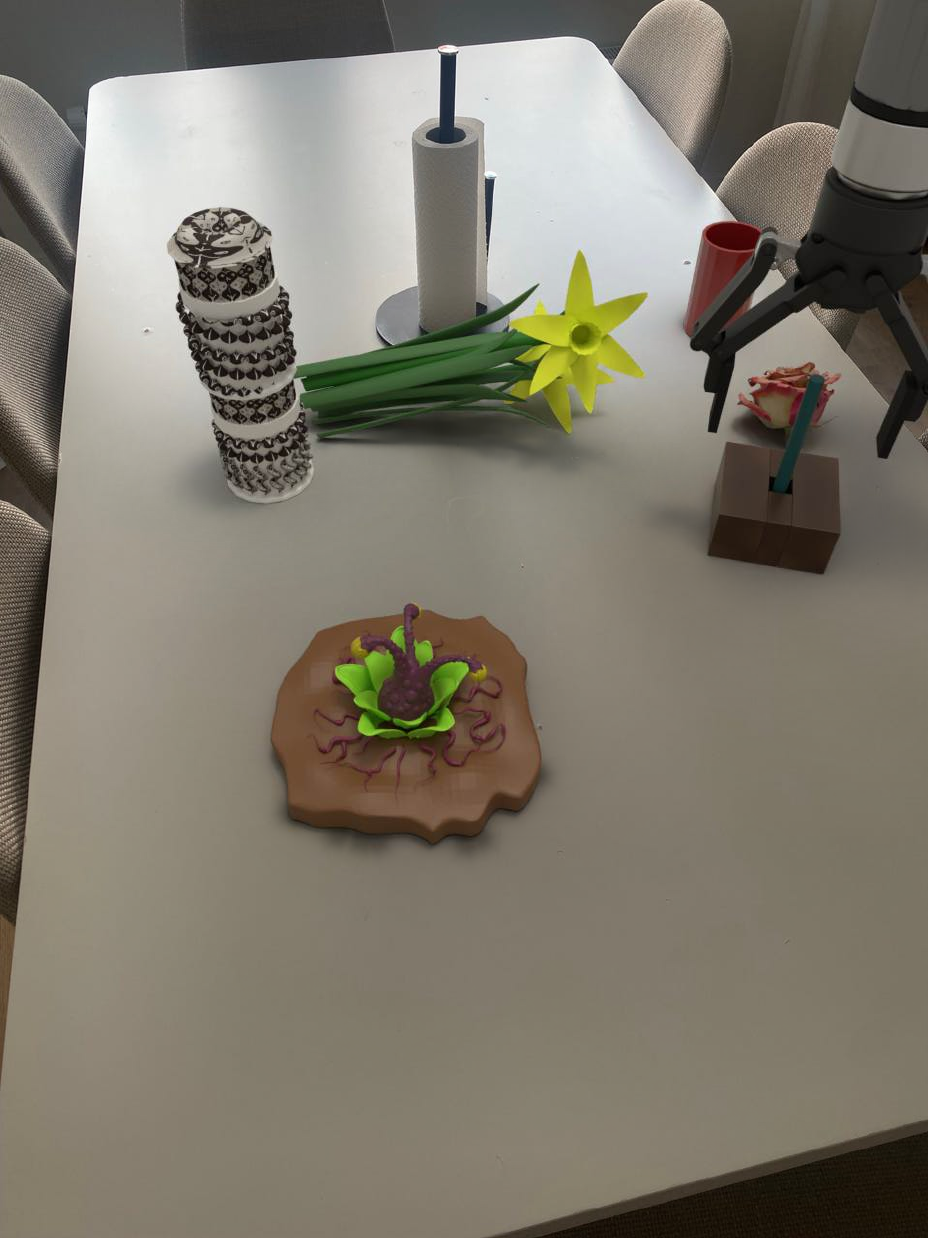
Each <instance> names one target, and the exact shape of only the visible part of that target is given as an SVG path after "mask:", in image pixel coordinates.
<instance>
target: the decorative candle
mask: <svg viewBox="0 0 928 1238" xmlns="http://www.w3.org/2000/svg"><path fill="white" fill-rule="evenodd" d="M273 241H274V239H273V234H272V231H271V229H270V228H269V227H267V226H266V225H264V223H262V222H260V221H257V220H256V219H255V217H252V215H250V214H249V213H248V212H246V211H244V210H240V209H238V208H234V207H224V206H222V207H221V206H219V207H210V208H205V209H202V210H198V211H195V212H193V213H192V214H190V215H188V216H187V217H185V218H184V219H183V220H182V221H181V223H180V224H179V226H178V227H177V229H176V232H174V233H173V234H172V236H171V237H170V238H169V240H168V241H167V243H166V249H167V254H168V255H169V256H170V257H171V258H172V259H173V260H174V264H175V265H174V266H175V269H176V272H177V276H178V288H179V292H178V293H177V297H176V298H177V300H178V301H177V302H176V304H175V311H176V312H177V313H178V320H179V321H180V322H181V323H182V325H184V326H183V329H182V331H183V334H184V336H185V337H187V347H188V349H189V350H190V351H191V353H190V357H191V359H192V360H193V361H195V363H194V368H195V371H196V372H197V373H198V379H199V381H200V384H201V386H202V387H203V388H204V389H205V390H206V391H207V392H208V394H209V398H210V408H211V414H212V418H213V419H212V421H211V427H212V428H213V434H214V436H215V441H216V442H217V448H218V455H219V458H220V462H221V464H222V469H223V473H224V476H225V478H226V480H227V486H228V488H229V489H230V490H231V491H232V493H233V495H235V496H236V497H238V498H240V499H242V500H244V501H247V502H249V503H255V504H256V503H257V504H266V505H268V504H274V503H280V502H284V501H287V500H289V499H291V498H293V497H296V496H298V495H300V494H301V493H302V492H303V491H304V490H305V489H307V488H308V487H309V485H311V483H312V480H313V478H314V475H315V468H314V464H313V459H314V455H313V454H312V453H310V450H311V446H312V442H311V441H310V440H307V438H308V437H309V433H308V431H309V427H308V425H307V424H306V417H307V414H306V412H305V411H304V406H303V403H300V396H299V395H298V394H299V393H298V389H297V387H296V385H295V379H293V377H294V375H295V373H296V371H297V367H296V366H297V364H296V356H297V350H296V349H295V346H294V338H295V334H294V331H293V330H292V329H291V328H290V325H291V323H292V318H293V313H292V311H291V310H290V307H289V306H290V294H289V292H288V291H287V290H285V288H284V287H283V286H282V285H281V284H280V282H279V276H278V272H277V268H276V266H275V265H274V261H273V260H274V259H273V253H272V248H271V245H272V243H273ZM186 310H188V312H187V311H186Z"/></svg>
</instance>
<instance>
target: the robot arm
mask: <svg viewBox="0 0 928 1238" xmlns="http://www.w3.org/2000/svg"><path fill="white" fill-rule="evenodd" d="M875 3H876V4H875V5H874V10H873V14H872V17H871V21H870V24H869V28H868V32H867V35H866V39H865V42H864V47H863V48H862V49H863V50H862V54H861V57H860V61H859V64H858V68H857V71H856V74H855V78H854V81H853V82H852V83H853V84H852V87H851V90H850V94H849V97H848V100H847V103H846V107H845V110H844V113H843V116H842V120H841V123H840V126H839V129H838V133H837V136H836V139H835V143H834V145H833V149H832V152H831V154H830V155H831V156H830V161H831V165H832V166H831V167H829V168H828V169H827V170H826V171H825V174H824V178H823V180H822V181H823V182H822V185H821V187H820V191H819V194H818V198H817V202H816V205H815V208H814V211H813V215H812V219H811V222H810V224H809V227H808V229H807V231H806V232H805V234H804V235H803V236H802V237H801V238H800V239H796V238H791V237H787V236H782V235H779V231H778V229H777V228H776V227H773V226H766V227H764V228H763V229H761V230H762V232H761V234H760V236H759V239H758V242H757V244H756V247H755V249H754V252H753V255H752V256H751V257H750V258H749V259H748V261H747V262H746V263H745V264H744V265H743V266H742V268H741V269H740V270H739V271H738V272H737V274H736V275H735V276H734V277H733V278H732V280H731V281H730V282H729V283H728V284H727V285H726V287H725V288H724V289H723V290H722V291H721V293H720V294H719V295H718V296H717V297H716V299H715V300H714V301H713V302H712V303H711V304H710V306H709V307H708V308H707V309H706V310H705V312H704V313H703V314H702V315H701V316H700V318H699V319H698V320H697V321H696V322H695V323H694V325H693V327H692V333H691V337H690V339H689V347H690V350H692V351H694V352H703V353H705V354H706V355H707V356H708V361H707V366H706V370H705V374H704V379H703V390H704V393H709V394H713V399H712V403H711V405H710V409H709V410H710V411H709V417H708V426H707V433H712V434H718V429H719V426H720V423H721V419H722V415H723V411H724V406H725V405H726V399H727V395H728V392H729V388H730V384H731V381H732V377H733V373H734V370H735V365H736V356H737V355H736V354H737V352H739V351H740V350H741V349H743V348H745V347H746V346H747V345H749V344H750V343H751V342H753V341H755V340H756V339H758V338H759V337H761V336H762V335H763V334H765V333H766V332H768V331H769V330H770V329H772V328H773V327H775V326H776V325H778V324H779V323H781V322H782V321H783V320H785V319H786V318H787V317H790V316H791V315H793V314H799V313H800V312H802V311H803V310H804V309H807V308H808V307H809V306H811V305H812V304H814V303H815V304H817V305H818V306H819V309H821V310H828V311H834V310H846V311H848V312H851V313H854V314H861V315H865V314H866V312H867V311H872V310H874V309H877V310H878V312H879V314H880V316H881V319H882V320H883V322H884V323H885V325H887V327H888V328H889V330H890V332H891V334H892V336H893V338H894V340H895V342H896V343H897V346H898V347H899V350H900V351H901V353H902V355H903V357H904V359H905V360H906V363H907V364H908V367H909V368H910V370H909V369H905V370H904V372H903V374H902V376H901V379H900V381H899V383H898V386H897V387H896V390H895V391H894V395H893V397H892V399H891V401H890V404H889V407H888V409H887V411H886V414H885V415H884V418H883V420H882V422H881V424H880V427H879V430H878V432H877V434H876V437H875V442H876V455H877V459H883V460H884V459H885V460H888V458H889V456H890V454H891V452H892V449H893V447H894V445H895V443H896V441H897V439H898V436H899V434H900V432H901V430H902V428H903V426H904V423H905V422H912V423H915V422H917V421H918V420H919V419H920V418H921V416H922V414H923V411H924V410H925V407H926V405H927V403H928V347H927V345H926V343H925V340H924V338H923V336H922V334H921V333H920V332H921V331H920V330H919V328H918V326H917V324H916V322H915V320H914V318H913V317H912V315H911V313H910V310H909V308H908V307H907V305H906V302H905V300H904V298H903V296H902V292H901V291H902V290H903V289H904V288H906V287H907V286H909V285H910V284H911V283H912V282H914V281H915V280H916V279H917V278H918V277H919V276H920V275H922V276H924V277H925V278H926V282H927V284H928V254H923V248H924V245H925V243H926V240H927V237H928V0H876V2H875ZM790 260H794V264H795V266H796V268H797V271H796V272H795V273H793V274H792V275H790V276H789V277H788V278H787V280H785V283H784V284H783V285H781V286H780V287H779V288H777V289H776V290H774V291H773V292H771V293H770V294H769V295H767V296H766V297H765V298H763V299H762V300H761V301H759V302H758V303H756V304H755V305H754V306H751V308H750V309H749V310H748V311H747V312H745V313H744V314H743V315H741V316H740V317H738V318H737V319H736V320H734V321H733V322H731V323H730V324H729V325H727V326H726V327H725V328H723V327H724V325H725V324H726V323H727V322H728V321H729V320H730V319H731V317H732V316H733V315H734V314H735V313H736V312H737V311H738V309H739V308H740V307H741V306H742V305H743V304H744V303H745V302H746V300H747V299H748V298H749V297H750V296H751V295H752V294H753V292H754V291H755V292H756V290H757V289H759V287H760V286H761V284H762V283H763V282H764V280H765V279H766V277H767V276H768V274H769V272H770V271H776V270H777V269H780V268H781V267H782V265H783V264H784V263H785V262H786V261H790ZM755 292H754V293H755ZM722 328H723V329H722ZM721 329H722V330H721Z"/></svg>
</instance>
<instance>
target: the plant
mask: <svg viewBox="0 0 928 1238" xmlns="http://www.w3.org/2000/svg"><path fill="white" fill-rule="evenodd" d="M527 674H528V663H527V659H526V658H525V656H523V655H522V654H521V653H520V652H519V651H518V648H517V647H516V646H515V644H514V642H513V641H512V639H511V637H509V636H508V635H507V634H505V633H504V632H503V631H501V630H499V629H498V628H496V627H495V626H494V625H493V624H491V622H490V621H488V620H487V618H486V617H485V616H484V615H477V616H473V617H470V618H460V619H459V618H453V617H449V616H444V615H442V614H439V613H437V612H435V611H433V610H430V609H422V608H421V606H420V605H419V604H418V603H415V602H408V603H407V604H405V605H404V608H403V613H397V614H391V615H384V616H375V617H369V618H361V619H355V620H350V621H347V622H343V623H340V624H336V625H333V626H331V627H326V628H323V629H320V630H318V631H317V632H316V633H315V635H314V637H313V638H312V640H311V641H310V642H309V644H308V645H307V648H306V649H305V650H304V652H303V653H302V655H300V657H299V659H298V660H296V662H295V663H294V664H293V665H292V666H291V667H290V668H289V670H288V671H287V672H286V675H285V676H284V678H283V681H282V682H281V684H280V687H279V689H278V692H277V695H276V700H275V701H276V702H275V708H274V714H273V719H272V724H271V729H270V745H271V747H272V750H273V753H274V755H275V757H276V759H277V760H278V762H279V763H280V764H281V766H282V767H283V769H284V772H285V779H286V786H287V807H288V810H289V814H290V818H291V819H292V820H295V821H299V822H302V823H305V824H308V825H310V826H312V827H315V828H319V829H320V828H321V829H327V828H347V829H351V830H355V831H358V832H361V833H364V834H372V835H383V834H387V835H388V834H389V835H390V834H403V833H405V834H406V833H408V834H413V835H416V836H418V837H421V838H423V839H425V840H426V841H428V842H429V843H431V844H432V845H435V844H436V843H437V842H439V841H440V840H441V839H443V838H444V837H445V836H449V835H462V836H467V837H473V836H476V835H478V834H480V833H481V831H482V830H483V828H484V827H485V825H486V824H487V821H488V820H489V818H490V815H492V813H493V812H494V811H495V810H498V809H506V810H509V811H514V812H519V811H521V810H522V809H523V808H524V806H526V804H527V803H528V801H529V800H530V799H531V798H532V795H533V793H534V792H535V790H536V788H537V785H538V783H539V780H540V775H541V767H542V749H541V743H540V740H539V736H538V733H537V730H536V727H535V724H534V721H533V719H532V713H531V711H530V705H529V698H528V692H527V686H526V680H527Z"/></svg>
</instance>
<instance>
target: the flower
mask: <svg viewBox="0 0 928 1238" xmlns="http://www.w3.org/2000/svg"><path fill="white" fill-rule="evenodd" d="M814 374H817V375H821V376H823V377H824V378H825V382H824V385H823V388H822V391H821V394H820V396H819V399H818V402H817V405H816V408H815V411H814V414H813V416H812V419H811V422H810V425H809V428H808V430H810V431H811V432H813V430H817V429H819V428H822V427H823V426H825V425H826V424H828V423H829V422H831V421H832V420H833V419H835V418H836V416H834V417H833V418H831V419H830V420H828V421H825V422H824V423H819V421H820V420H821V418H822V417H823V414H824V412H825V409H826V406H827V404H828V402H829V401H830V398H831V397H832V396H833V395H835V389H833V388H832V389H831V390H828V388H827V387H828V385H833V384H834V383H836V382H837V381H839V379H840V378H841V377H842V373H841V372H837V373H835V374H831V376H829V371H825V372H824V373H822V374H821V372H820V370H819V369H817V368H816V364H815V363H814V362H812V361H808V362H806V363H803V364H801V365H799V366H797V367H793V366H788V367H785V366H779V367H776V369H775V370H771V369H767V370H766V371H764V372H763V375H761V376H752V377H749V378H748V379H747V381H748V385H749V386H750V387H751V388H753V387H755V386H756V385H757V384H758V385H759V386H760V387H758V388H756V389H755V390H753V391H750V392H749V395H750V396H751V397H752V399H753V400H750V399H747V397H745V395H744V394H743V393H742V392H739V394H737V395H738V399H739V401H738V402H737V403H736V405H737V406H744V407H746V408H748V409H750V410H751V411H752V412H750V414H752V415H755V416H756V417H757V418H758V419H759V421H760V422H761V423H762V424H764V425H765V426H766V427H767V428H770V429H783V430H784V431H785V447H786V446H787V443H788V440H789V437H790V434H791V431H792V428H793V425H794V422H795V419H796V416H797V413H798V410H799V407H800V404H801V401H802V398H803V395H804V392H805V389H806V386H807V383H808V380H809V377H810V376H811V375H814ZM818 423H819V424H818Z"/></svg>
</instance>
